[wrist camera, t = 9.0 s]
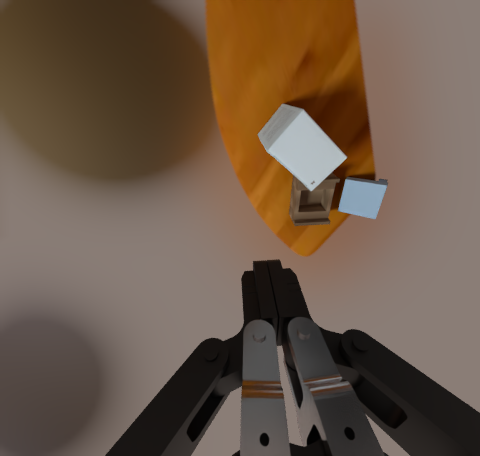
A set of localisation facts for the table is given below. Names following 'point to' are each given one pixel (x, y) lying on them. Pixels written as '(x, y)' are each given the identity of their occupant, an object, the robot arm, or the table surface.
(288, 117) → the small box
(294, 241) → the table surface
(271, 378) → the robot arm
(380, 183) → the lid
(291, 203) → the case
